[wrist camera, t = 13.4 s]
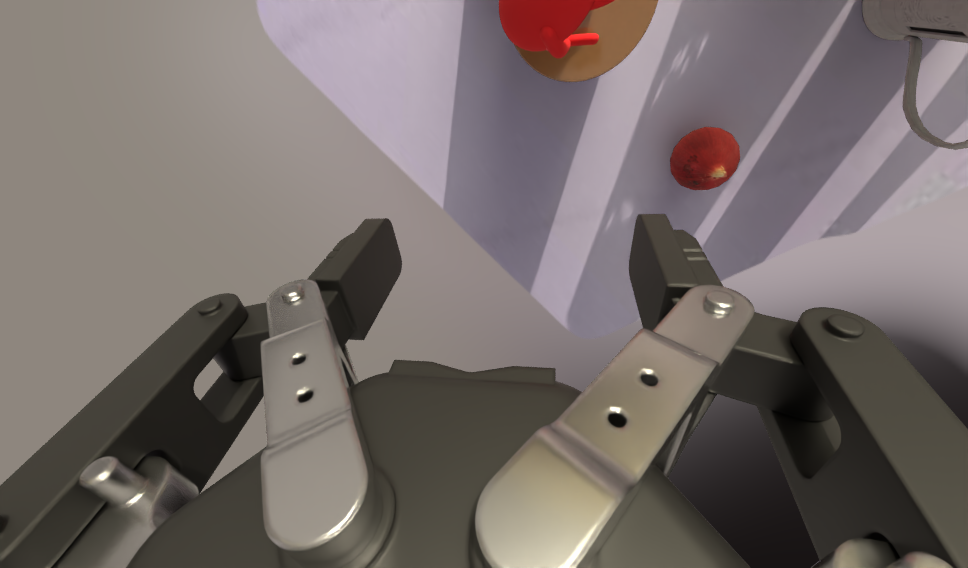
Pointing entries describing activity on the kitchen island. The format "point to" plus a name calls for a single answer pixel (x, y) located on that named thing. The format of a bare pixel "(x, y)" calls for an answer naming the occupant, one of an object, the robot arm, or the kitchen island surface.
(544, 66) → the jar
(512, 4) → the cap
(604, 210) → the kitchen island surface
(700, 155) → the onion
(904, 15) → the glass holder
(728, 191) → the kitchen island surface
